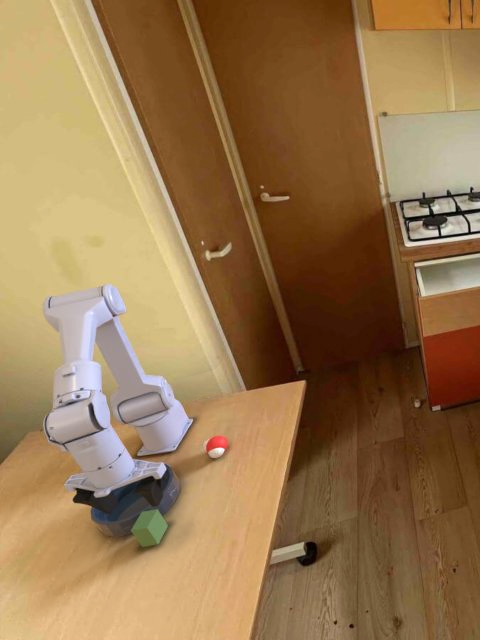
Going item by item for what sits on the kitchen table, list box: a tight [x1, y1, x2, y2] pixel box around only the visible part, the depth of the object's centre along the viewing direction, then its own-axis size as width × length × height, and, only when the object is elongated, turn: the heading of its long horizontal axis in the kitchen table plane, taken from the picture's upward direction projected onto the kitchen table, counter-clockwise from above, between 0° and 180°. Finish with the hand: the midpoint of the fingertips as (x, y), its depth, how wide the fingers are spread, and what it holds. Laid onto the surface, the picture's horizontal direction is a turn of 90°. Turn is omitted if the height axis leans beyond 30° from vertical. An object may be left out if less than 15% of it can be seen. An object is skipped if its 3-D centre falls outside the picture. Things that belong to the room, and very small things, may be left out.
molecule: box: [202, 435, 229, 459], centre depth 98 cm, size 5×5×4 cm
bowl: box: [89, 463, 181, 538], centre depth 87 cm, size 13×13×4 cm
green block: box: [131, 509, 169, 548], centre depth 81 cm, size 4×3×6 cm
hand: (135, 505), depth 79 cm, fingers open, 7 cm apart
